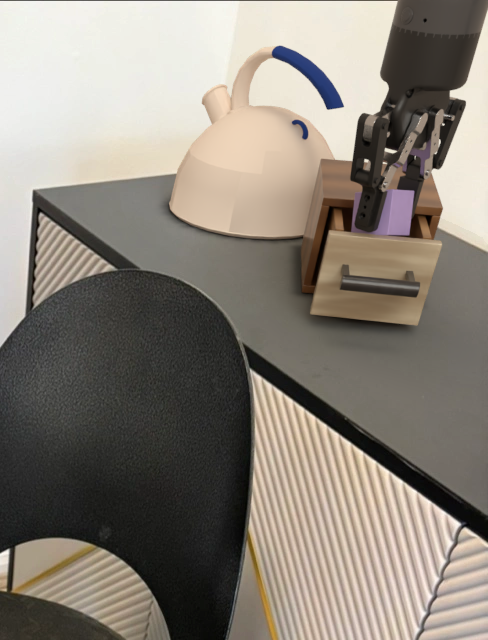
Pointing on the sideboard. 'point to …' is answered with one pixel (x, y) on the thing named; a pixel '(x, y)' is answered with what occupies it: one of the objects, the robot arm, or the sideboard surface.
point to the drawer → (373, 271)
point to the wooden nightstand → (341, 192)
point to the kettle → (254, 159)
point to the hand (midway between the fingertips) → (383, 223)
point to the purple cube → (391, 213)
